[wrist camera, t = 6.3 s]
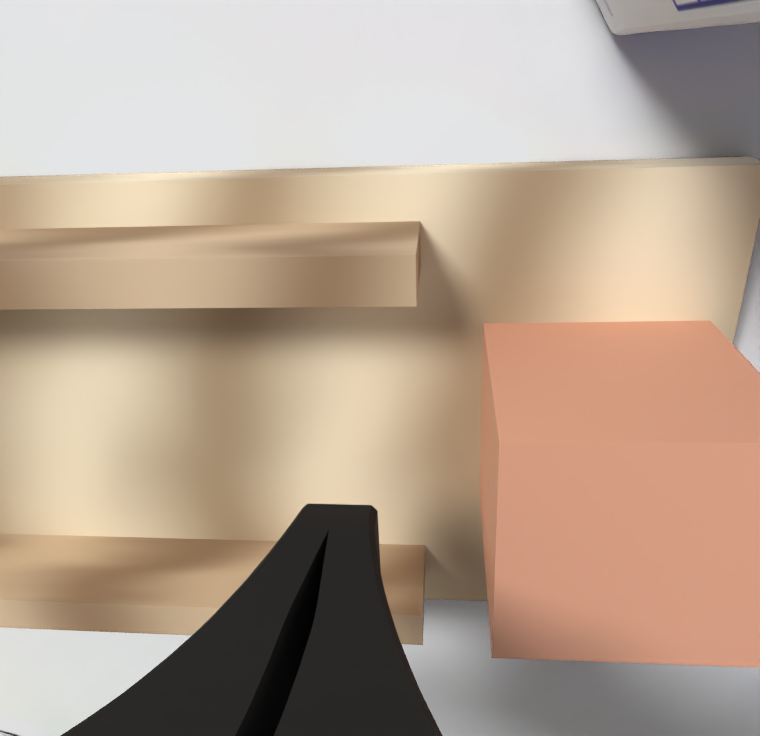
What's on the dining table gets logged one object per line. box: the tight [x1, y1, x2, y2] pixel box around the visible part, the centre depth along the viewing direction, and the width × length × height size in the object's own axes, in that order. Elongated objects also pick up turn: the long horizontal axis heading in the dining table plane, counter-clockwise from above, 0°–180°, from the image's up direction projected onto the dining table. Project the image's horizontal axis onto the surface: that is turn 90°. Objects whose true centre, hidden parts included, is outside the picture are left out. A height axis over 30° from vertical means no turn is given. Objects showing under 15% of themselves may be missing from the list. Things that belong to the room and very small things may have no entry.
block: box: [480, 321, 760, 667], centre depth 14 cm, size 5×5×5 cm
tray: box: [0, 156, 760, 645], centre depth 16 cm, size 23×12×4 cm, turn 92°
